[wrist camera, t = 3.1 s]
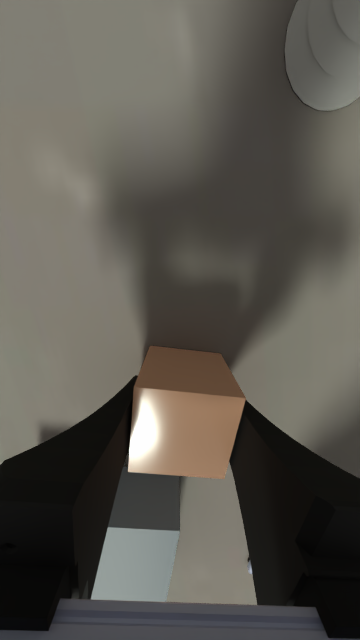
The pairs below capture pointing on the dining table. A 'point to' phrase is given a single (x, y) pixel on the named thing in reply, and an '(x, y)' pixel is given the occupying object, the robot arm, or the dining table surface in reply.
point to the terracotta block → (184, 414)
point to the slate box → (140, 539)
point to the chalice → (324, 52)
